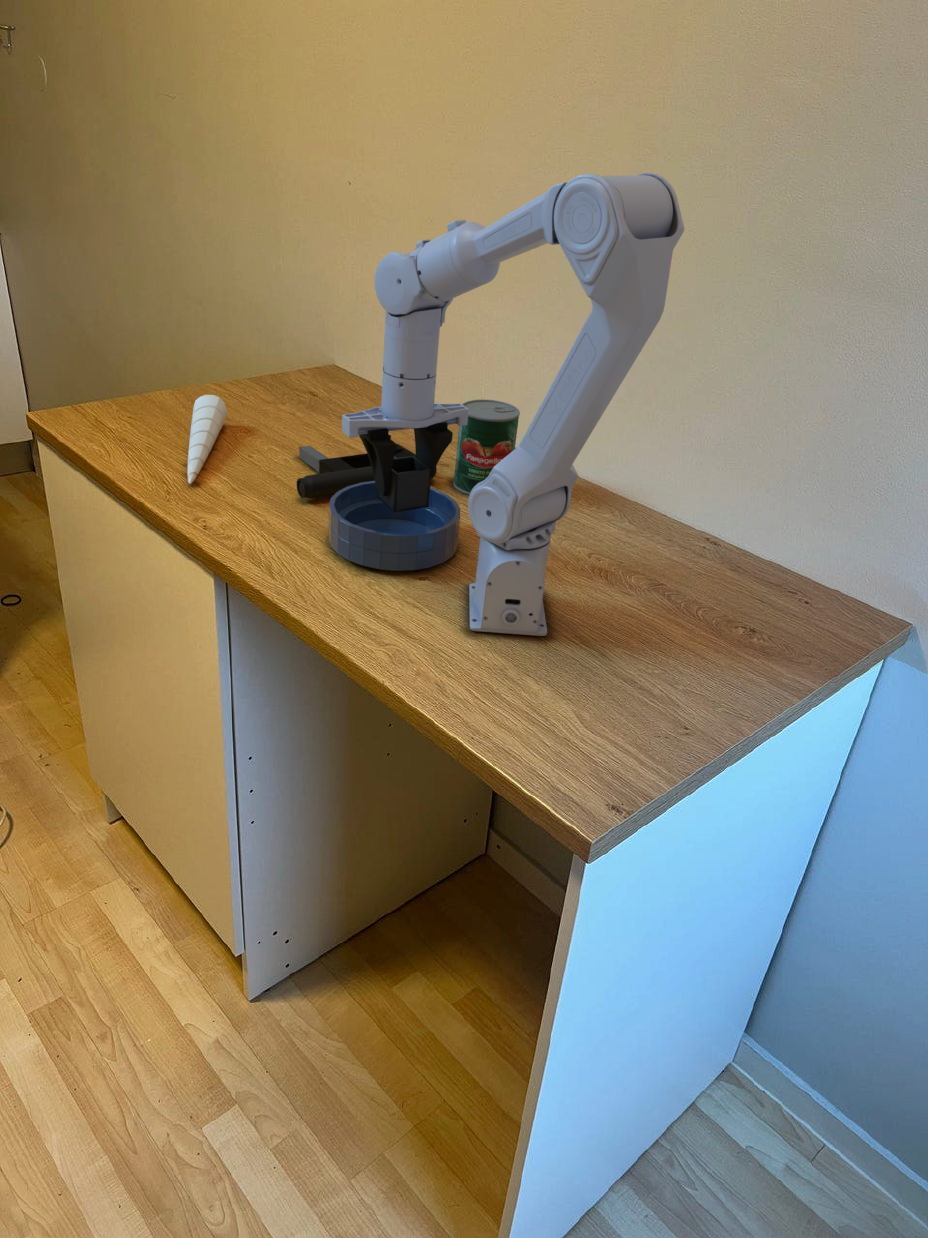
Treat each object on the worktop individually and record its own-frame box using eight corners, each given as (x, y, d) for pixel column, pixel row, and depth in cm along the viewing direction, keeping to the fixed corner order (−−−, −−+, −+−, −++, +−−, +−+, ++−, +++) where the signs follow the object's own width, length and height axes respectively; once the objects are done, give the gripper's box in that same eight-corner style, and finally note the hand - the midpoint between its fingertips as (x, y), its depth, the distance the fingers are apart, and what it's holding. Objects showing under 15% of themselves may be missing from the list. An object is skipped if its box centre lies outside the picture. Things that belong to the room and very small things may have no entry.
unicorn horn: (159, 485, 119) (156, 450, 117) (196, 423, 140) (194, 391, 137) (197, 488, 120) (195, 452, 117) (228, 425, 140) (227, 394, 138)
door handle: (259, 446, 127) (308, 483, 116) (388, 430, 137) (445, 463, 126) (260, 469, 129) (308, 508, 117) (387, 452, 139) (444, 486, 127)
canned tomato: (467, 500, 124) (475, 420, 119) (444, 477, 130) (450, 400, 125) (520, 494, 127) (530, 417, 122) (495, 472, 133) (503, 397, 128)
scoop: (428, 507, 106) (431, 469, 104) (393, 512, 104) (396, 474, 102) (397, 480, 112) (399, 444, 109) (363, 485, 110) (365, 448, 107)
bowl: (456, 580, 105) (460, 540, 102) (321, 569, 104) (321, 529, 102) (457, 522, 118) (460, 485, 115) (336, 512, 117) (337, 475, 115)
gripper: (450, 356, 105) (441, 469, 112) (331, 364, 99) (329, 483, 106) (482, 375, 100) (470, 491, 107) (359, 385, 94) (355, 508, 101)
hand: (402, 489), depth 106 cm, fingers closed on scoop, 4 cm apart
